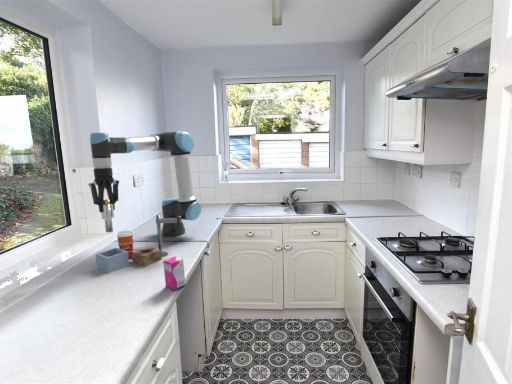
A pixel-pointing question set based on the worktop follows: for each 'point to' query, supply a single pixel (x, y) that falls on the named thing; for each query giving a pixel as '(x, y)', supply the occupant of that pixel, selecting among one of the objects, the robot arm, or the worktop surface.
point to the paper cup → (126, 241)
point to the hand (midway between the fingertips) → (108, 217)
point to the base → (164, 253)
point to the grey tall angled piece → (158, 220)
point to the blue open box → (112, 260)
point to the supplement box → (174, 273)
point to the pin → (108, 216)
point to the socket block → (146, 256)
